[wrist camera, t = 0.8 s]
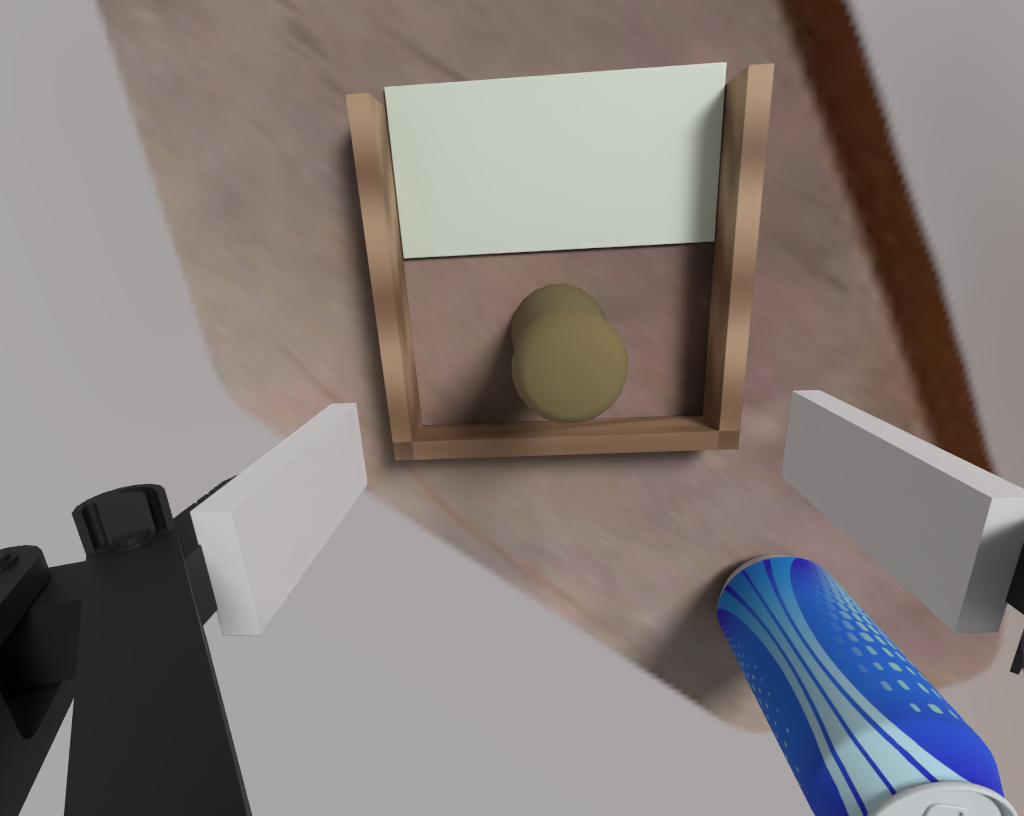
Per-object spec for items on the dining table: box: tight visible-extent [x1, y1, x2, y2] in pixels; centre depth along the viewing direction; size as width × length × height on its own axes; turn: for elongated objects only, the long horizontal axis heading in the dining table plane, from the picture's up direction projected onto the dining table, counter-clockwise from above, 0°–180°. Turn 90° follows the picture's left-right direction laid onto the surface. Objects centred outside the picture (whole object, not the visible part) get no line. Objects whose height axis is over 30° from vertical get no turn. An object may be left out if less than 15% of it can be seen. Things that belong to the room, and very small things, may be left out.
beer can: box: [717, 555, 1018, 816], centre depth 29 cm, size 8×8×16 cm
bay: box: [346, 63, 774, 460], centre depth 29 cm, size 20×21×3 cm
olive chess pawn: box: [511, 284, 628, 424], centre depth 26 cm, size 6×6×11 cm
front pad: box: [384, 62, 726, 258], centre depth 28 cm, size 9×18×1 cm, turn 93°
